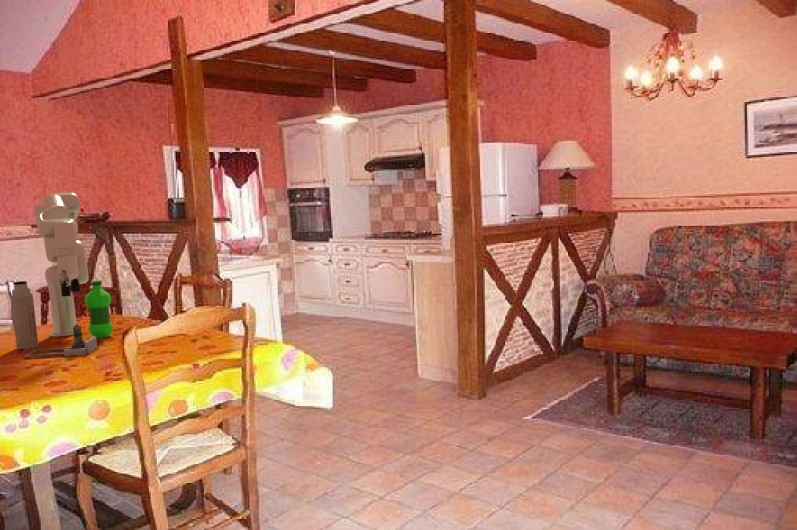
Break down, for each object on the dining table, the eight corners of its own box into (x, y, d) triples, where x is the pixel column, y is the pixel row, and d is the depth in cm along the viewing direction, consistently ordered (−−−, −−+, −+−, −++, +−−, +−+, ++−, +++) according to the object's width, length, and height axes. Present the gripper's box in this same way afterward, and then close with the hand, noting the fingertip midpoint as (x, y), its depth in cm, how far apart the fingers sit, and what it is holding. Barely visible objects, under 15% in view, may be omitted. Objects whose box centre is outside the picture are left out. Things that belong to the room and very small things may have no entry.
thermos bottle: (42, 345, 278) (35, 280, 275) (28, 349, 270) (21, 282, 267) (26, 345, 280) (19, 280, 276) (12, 349, 272) (4, 283, 269)
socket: (74, 350, 266) (73, 338, 266) (97, 348, 267) (96, 336, 266) (64, 356, 256) (63, 343, 256) (88, 354, 257) (86, 342, 257)
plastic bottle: (98, 334, 295) (93, 279, 292) (119, 334, 293) (113, 279, 290) (83, 339, 285) (77, 283, 282) (105, 339, 283) (99, 282, 280)
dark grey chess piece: (75, 351, 265) (71, 322, 263) (90, 350, 265) (87, 321, 264) (69, 354, 259) (65, 324, 257) (84, 353, 259) (81, 323, 258)
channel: (35, 352, 265) (35, 349, 265) (74, 350, 266) (74, 347, 266) (24, 358, 255) (23, 355, 255) (64, 356, 256) (64, 353, 256)
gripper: (65, 249, 269) (69, 290, 272) (47, 255, 252) (52, 298, 255) (84, 248, 270) (88, 289, 273) (68, 254, 253) (72, 297, 256)
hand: (71, 293), depth 264 cm, fingers open, 9 cm apart
